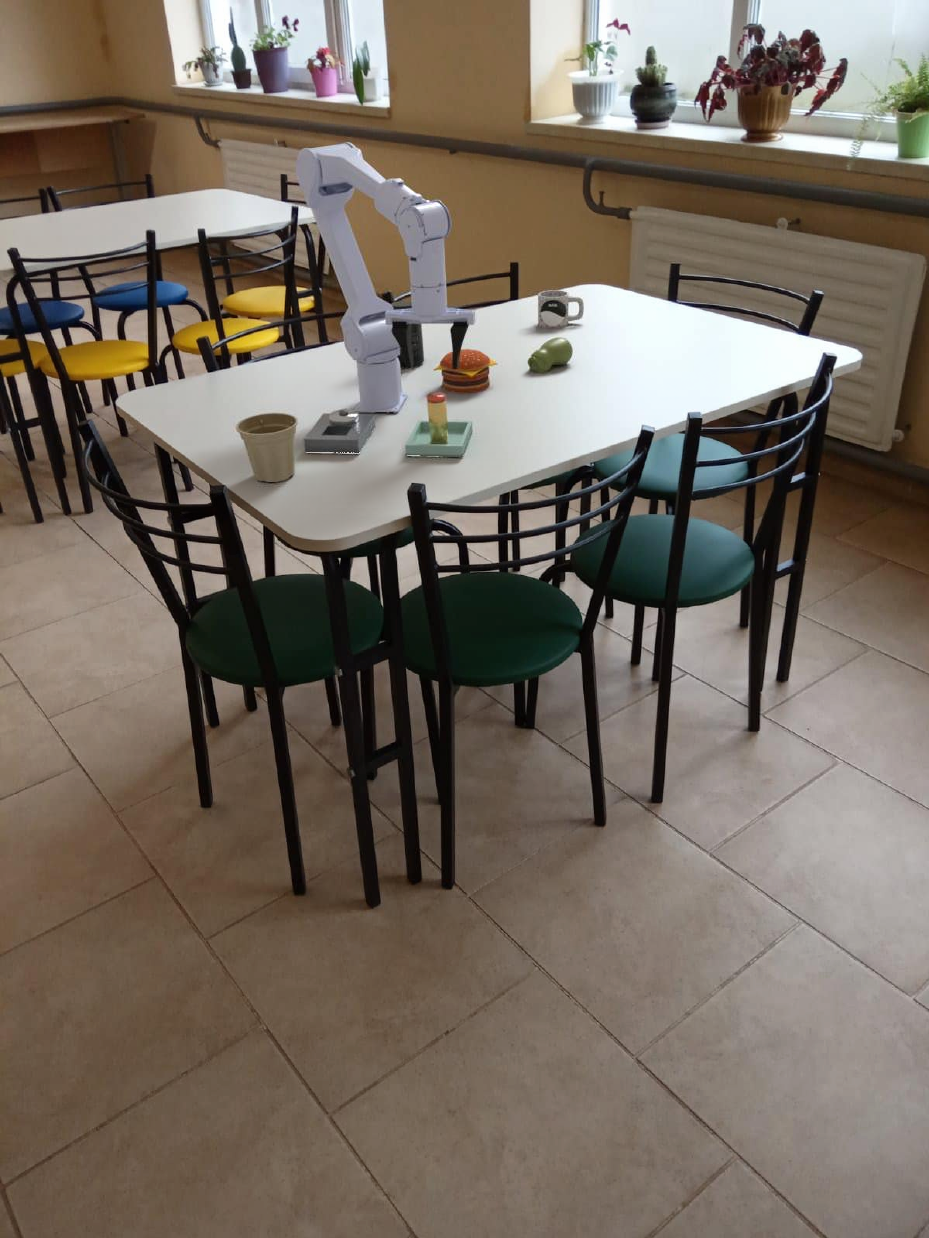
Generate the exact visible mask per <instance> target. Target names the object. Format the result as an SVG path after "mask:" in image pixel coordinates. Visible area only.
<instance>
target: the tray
mask: <svg viewBox="0 0 929 1238" xmlns="http://www.w3.org/2000/svg"><path fill="white" fill-rule="evenodd" d="M447 423H448V436H449V442H448V443H446V444H432V443H431V440H430V428H429V420H427V419H426V420H417V422H416V423H415V426H414V428H413V430H412V431H411V434H410V435H409V438H408V439H407V442H406V443H405V456H406V455H420V456H439V457H441V456H442V457H463V458H464V456H465V454H464V453H466V451H467V448H468V446H469V443H470V441H469V440H471V437H472V435H473V433H472V432H473V421H472V420H447ZM468 442H469V443H468ZM467 445H468V446H467ZM465 450H466V451H465ZM463 455H464V456H463Z"/></svg>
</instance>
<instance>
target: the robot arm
mask: <svg viewBox="0 0 929 1238" xmlns="http://www.w3.org/2000/svg"><path fill="white" fill-rule="evenodd" d="M362 153H363V152H362V150H361V149H360V148H358V147H356V146H355V144H353V143H351V142H349V141H347V142H346V141H345V142H342V143H339V144H332V145H326V146H317V147H313V148H311V147H310V148H309V147H304V148H301V150H299V152H298V155H297V157H296V163H295V171H294V174H295V177H296V179H297V182H298V184H299V187H300V190H301V193H302V195H303V198H304V200H305V203H306V206H308V207H309V208H310V210H311V213H312V215H313V218H314V220H315V223H316V226H317V229H318V230H319V233H320V236H321V238H322V242H323V245H324V247H325V249H326V252H327V254H328V258H329V260H330V262H331V265H332V267H333V268H332V269H333V270H334V273H335V275H336V278H337V280H338V283H339V286H340V288H341V291H342V293H343V297H344V299H345V301H346V304H347V306H348V308H347V309H346V312H345V313H344V315H343V317H342V318H341V320H340V322H339V323H340V324H339V325H340V327H341V330H342V334H343V342H344V343H343V344H344V347H345V350H346V352H347V353H348V355H349V356H350V357H351V358H352V360H353V361H356V369H357V371H356V372H357V379H358V380H357V381H358V392H359V393H358V394H359V399H360V400H359V402H358V404H357V405H356V406H355V408H354V409H353V410H356V411H358V413H375V412H387V413H388V414H390V413H389V412H394V413H393V414H395V413H396V412H397V413H399V411H400V410H401V408H402V406H403V404H404V403H405V401H406V400H407V397H408V396H409V395H408V393H407V392H403V385H402V384H403V383H402V373H401V372H402V370H401V368H400V362H399V359H398V358H397V356H398V355H400V349H401V350H402V353H403V355H404V358H405V361H406V365H407V368H406V369H407V370H412V368H414V367H413V365H414V363H413V351H412V324H421V325H422V324H429V325H431V324H432V325H433V324H435V325H436V324H439V325H440V324H442V325H443V324H445V325H446V324H448V325H449V324H450V325H451V324H452V326H451V327H450V329H449V331H450V339H451V349H452V351H451V352H453V354H452V366H453V369H457V368H458V366H459V357H460V351H461V349H462V346H463V343H464V340H465V336H466V334H467V331H468V330H469V329H468V328H469V326H472V325H473V326H474V325H475V323H476V310H475V309H463V308H456V307H455V308H454V307H448V298H447V297H448V296H447V278H446V277H447V275H446V274H447V273H446V254H445V239H446V238H447V237H449V235H450V233H451V230H452V218H451V214H450V211H449V209H448V208H447V206H446V205H445V204H444V203H443V202H442V201H441V200H440V199H433V200H429V199H427V200H426V199H425V198H423V195H422V194H420V193H416V192H415V191H414V190H412V189H411V188H410V187H409V186H407V185H405V181H404V180H403V179H402V178H400V177H399V178H389V179H385V177H383V176H382V175H381V174H380V173H379V172H377V170H376V169H374V167H372V166H371V165H370V163H367V161H366V160H364V156H363V154H362ZM355 189H357V190H358V191H360V192H361V193H363V194H365V195H366V196H367V197H370V198H371V199H373V204H374V207H375V210H376V211H377V212H378V213H379V214H381V215H382V216H383V217H384V218H385V219H387V220H388V221H390V222H391V223H392V224H393V225H395V226H396V227H398V233H399V235H400V237H401V239H402V241H403V247H404V252H405V255H406V256H408V267H409V269H408V270H409V284H410V285H409V286H410V297H411V298H410V299H411V300H410V301H412V308H410V309H399V310H394V309H393V306H392V305H391V304H392V303H389V302H388V301H386V300H383V299H382V298H379V297H378V295H377V293H376V290H375V287H374V286H373V283H372V280H371V277H370V275H369V272H368V269H367V266H366V263H365V262H364V259H363V256H362V253H361V250H360V248H359V245H358V243H357V240H356V238H355V235H354V232H353V230H352V226H351V224H350V221H349V219H348V216H347V214H346V211H345V206H346V203H348V202H349V200H351V198H352V197H353V194H354V192H355Z"/></svg>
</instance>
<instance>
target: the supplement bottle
mask: <svg viewBox="0 0 929 1238" xmlns="http://www.w3.org/2000/svg"><path fill="white" fill-rule="evenodd" d="M390 304H391V305H392V306H393V309H394V310H399V309H410V308H412V301H411V300H399V301H394V302H392V303H390ZM423 340H424V339H423V328H422V324H412V351H413V363H414V365H413V367H412V368H415V367H419V366H421V365H423V364H424V362H425V354H424V353H425V352H424V341H423ZM397 358H398V359H399V362H400V369H407V365H406V361H405V358H404V355H403V353H402V350H401V349H400V355H398V356H397Z"/></svg>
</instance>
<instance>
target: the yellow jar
mask: <svg viewBox="0 0 929 1238" xmlns="http://www.w3.org/2000/svg"><path fill="white" fill-rule="evenodd" d="M426 401H427V402H426V403H427V415H428V421H429V428H430V440H431V443H432V444H446V443H448V442H449V436H448V423H447V421H448V413H447V411H448V410H447V399H446V394H445V393H443V392H431V393H429V394H427V395H426Z"/></svg>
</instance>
